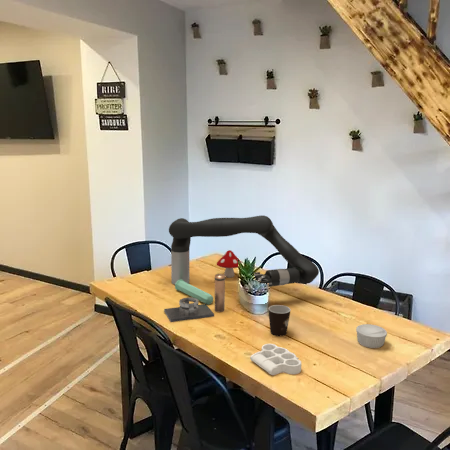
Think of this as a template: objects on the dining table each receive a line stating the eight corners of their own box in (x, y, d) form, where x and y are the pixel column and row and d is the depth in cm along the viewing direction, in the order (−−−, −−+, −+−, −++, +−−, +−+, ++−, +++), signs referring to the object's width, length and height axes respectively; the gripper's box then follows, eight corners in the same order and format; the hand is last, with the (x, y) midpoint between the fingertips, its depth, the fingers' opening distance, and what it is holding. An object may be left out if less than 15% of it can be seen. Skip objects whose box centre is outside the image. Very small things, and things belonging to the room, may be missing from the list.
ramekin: (381, 352, 174) (382, 339, 173) (351, 345, 180) (352, 331, 179) (389, 341, 183) (390, 328, 182) (360, 334, 189) (361, 321, 188)
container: (213, 291, 217) (182, 276, 235) (203, 299, 214) (173, 283, 232) (217, 302, 219) (186, 286, 238) (207, 309, 216) (176, 293, 235)
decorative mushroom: (210, 276, 257) (210, 249, 253) (229, 271, 266) (229, 245, 263) (228, 283, 246) (229, 255, 243) (247, 277, 256) (248, 250, 252)
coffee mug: (275, 339, 183) (276, 314, 181) (263, 330, 191) (264, 307, 189) (300, 333, 188) (301, 309, 186) (287, 325, 196) (288, 302, 194)
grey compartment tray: (244, 358, 169) (277, 348, 176) (276, 382, 154) (310, 370, 161) (245, 349, 168) (277, 340, 176) (276, 372, 153) (311, 361, 161)
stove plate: (164, 311, 208) (164, 298, 207) (205, 306, 215) (205, 293, 214) (170, 322, 197) (170, 308, 196) (214, 316, 204) (214, 303, 202)
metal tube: (212, 308, 212) (213, 274, 209) (222, 307, 214) (223, 273, 210) (216, 312, 208) (216, 277, 205) (226, 311, 209) (226, 276, 206)
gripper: (270, 265, 223) (238, 268, 218) (284, 274, 210) (250, 278, 205) (270, 280, 225) (238, 284, 219) (284, 290, 212) (250, 294, 206)
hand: (244, 281), depth 212 cm, fingers open, 8 cm apart
